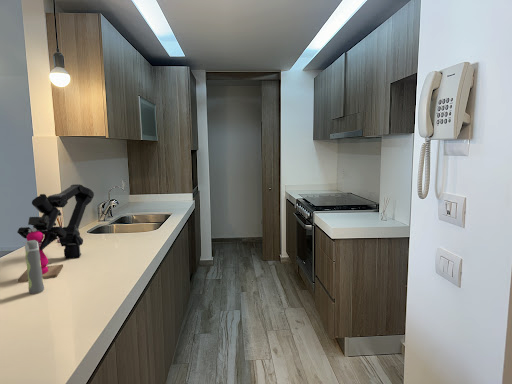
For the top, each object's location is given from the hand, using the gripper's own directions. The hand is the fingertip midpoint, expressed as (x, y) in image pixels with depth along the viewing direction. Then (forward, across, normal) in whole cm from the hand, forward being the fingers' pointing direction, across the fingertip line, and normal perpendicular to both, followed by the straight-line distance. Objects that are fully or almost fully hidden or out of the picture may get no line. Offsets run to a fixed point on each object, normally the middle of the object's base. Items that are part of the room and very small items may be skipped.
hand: (34, 249), depth 139 cm
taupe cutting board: (+6, 0, +11) cm, 12 cm away
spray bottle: (+19, +10, -2) cm, 22 cm away
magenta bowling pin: (+7, 0, +9) cm, 11 cm away
